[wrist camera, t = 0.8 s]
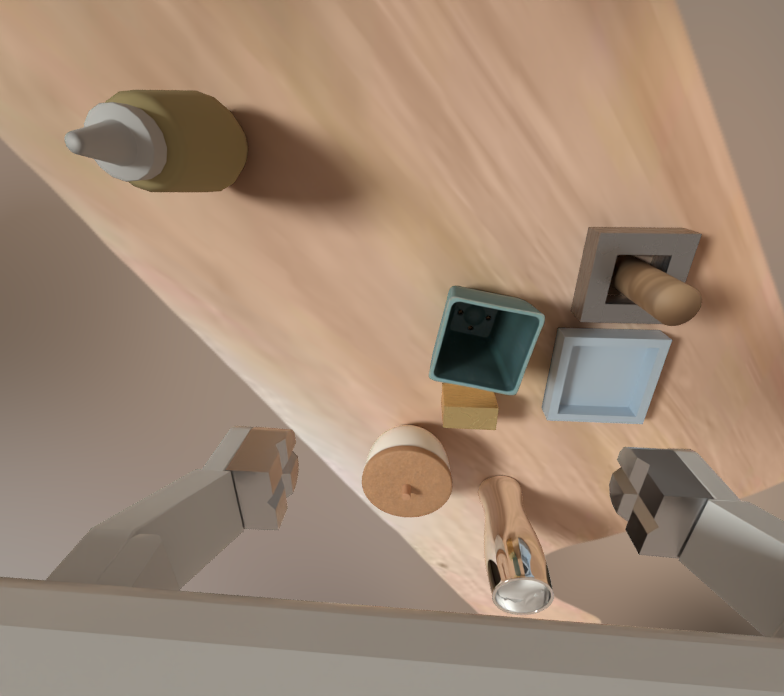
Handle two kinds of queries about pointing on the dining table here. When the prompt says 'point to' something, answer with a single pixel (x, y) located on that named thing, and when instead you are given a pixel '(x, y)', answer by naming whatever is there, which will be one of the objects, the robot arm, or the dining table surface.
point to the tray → (604, 374)
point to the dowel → (655, 291)
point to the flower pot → (485, 340)
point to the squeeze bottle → (164, 140)
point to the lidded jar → (407, 472)
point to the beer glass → (512, 550)
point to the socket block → (598, 262)
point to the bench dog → (468, 408)
